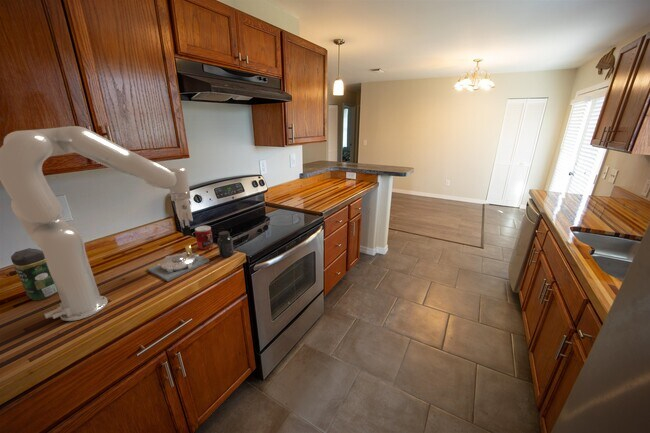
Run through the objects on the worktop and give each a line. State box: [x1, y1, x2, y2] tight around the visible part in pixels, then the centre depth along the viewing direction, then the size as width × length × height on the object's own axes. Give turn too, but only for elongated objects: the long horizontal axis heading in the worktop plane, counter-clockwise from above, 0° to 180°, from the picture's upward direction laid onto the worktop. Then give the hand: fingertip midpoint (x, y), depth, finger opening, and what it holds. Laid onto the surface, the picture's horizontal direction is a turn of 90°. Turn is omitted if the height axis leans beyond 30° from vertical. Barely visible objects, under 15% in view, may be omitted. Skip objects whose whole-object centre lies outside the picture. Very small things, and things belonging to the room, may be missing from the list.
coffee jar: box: [10, 247, 58, 301], centre depth 98 cm, size 10×8×19 cm
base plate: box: [146, 252, 211, 282], centre depth 121 cm, size 20×17×1 cm
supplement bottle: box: [217, 230, 235, 258], centre depth 130 cm, size 7×7×12 cm
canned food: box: [194, 225, 214, 251], centre depth 139 cm, size 8×8×11 cm
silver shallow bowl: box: [157, 244, 198, 273], centre depth 120 cm, size 15×16×6 cm
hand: (187, 234), depth 120 cm, fingers closed
